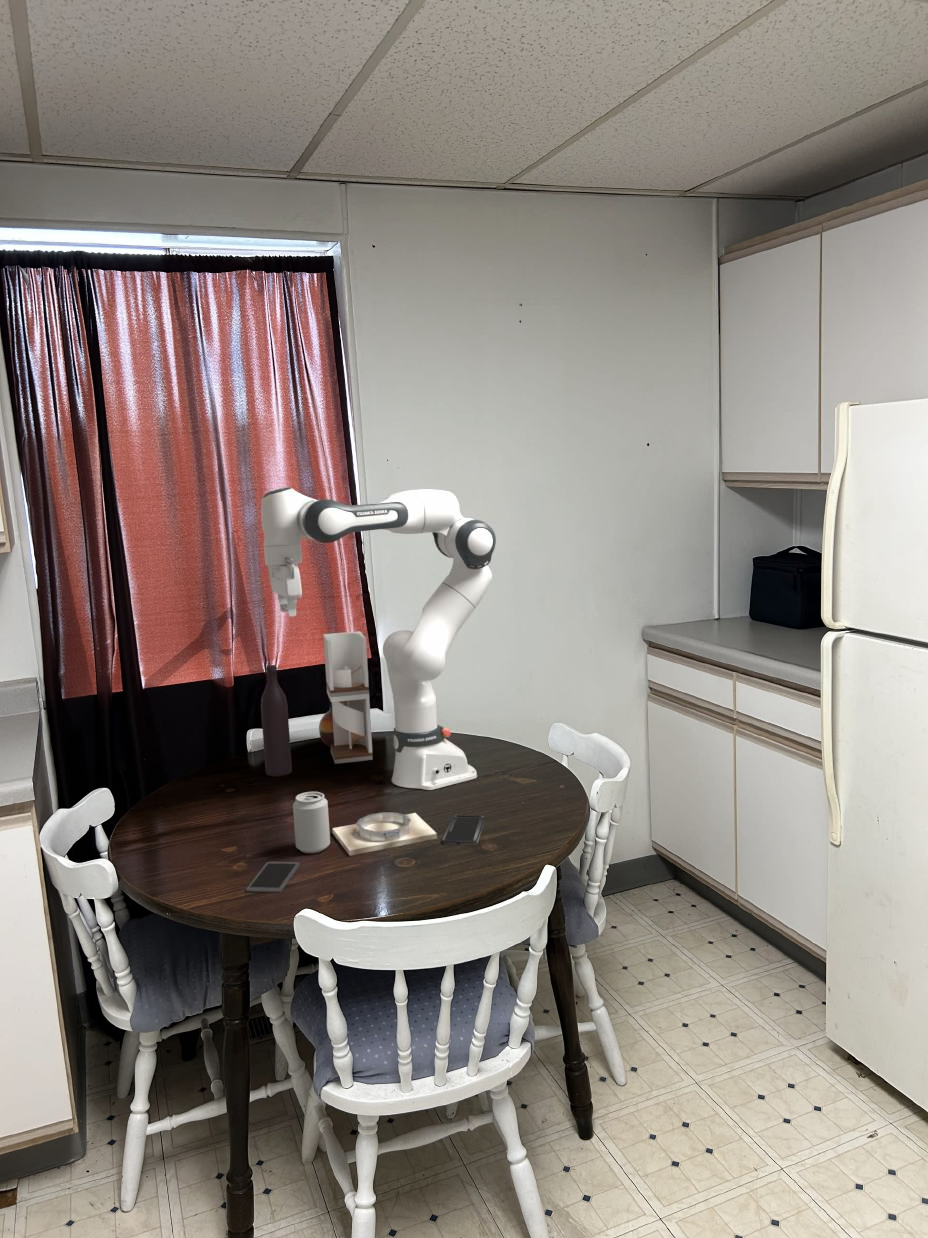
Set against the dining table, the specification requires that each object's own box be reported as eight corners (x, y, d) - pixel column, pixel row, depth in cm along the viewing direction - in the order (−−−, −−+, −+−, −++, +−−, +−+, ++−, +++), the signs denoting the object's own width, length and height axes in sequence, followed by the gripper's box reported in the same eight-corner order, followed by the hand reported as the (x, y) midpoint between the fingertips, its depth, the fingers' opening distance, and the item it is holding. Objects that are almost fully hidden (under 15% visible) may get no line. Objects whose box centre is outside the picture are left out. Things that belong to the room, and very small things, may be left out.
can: (336, 843, 210) (333, 791, 208) (320, 856, 203) (317, 803, 201) (306, 839, 213) (302, 788, 211) (289, 853, 206) (285, 800, 204)
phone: (485, 816, 220) (476, 841, 206) (485, 820, 221) (476, 846, 206) (452, 815, 222) (441, 840, 207) (452, 820, 222) (441, 845, 207)
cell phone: (244, 894, 187) (244, 890, 187) (267, 864, 201) (267, 861, 201) (280, 895, 187) (280, 891, 186) (301, 865, 200) (300, 861, 200)
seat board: (415, 817, 223) (415, 812, 223) (436, 838, 210) (436, 833, 210) (332, 833, 216) (332, 828, 215) (349, 855, 203) (349, 850, 203)
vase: (341, 750, 278) (338, 699, 275) (312, 746, 283) (308, 695, 281) (364, 740, 287) (361, 691, 284) (336, 736, 293) (332, 687, 290)
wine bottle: (297, 771, 261) (290, 664, 256) (279, 778, 255) (271, 669, 250) (278, 767, 264) (270, 662, 259) (260, 774, 258) (252, 667, 254)
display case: (330, 752, 277) (323, 634, 271) (367, 748, 279) (360, 631, 273) (335, 763, 266) (327, 641, 260) (372, 759, 268) (365, 638, 262)
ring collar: (400, 817, 221) (400, 809, 220) (418, 835, 210) (417, 826, 209) (350, 826, 216) (350, 818, 216) (366, 845, 205) (365, 836, 205)
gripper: (305, 558, 219) (310, 617, 221) (288, 553, 238) (292, 607, 240) (278, 560, 216) (283, 620, 218) (263, 555, 235) (267, 610, 237)
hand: (288, 613), depth 229 cm, fingers open, 8 cm apart
